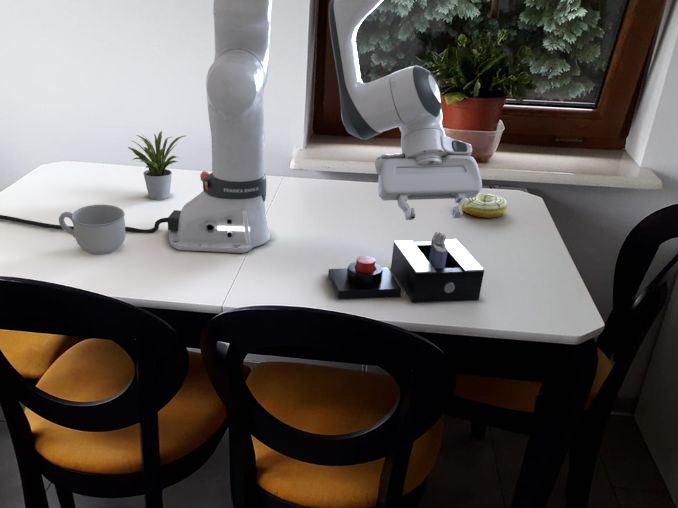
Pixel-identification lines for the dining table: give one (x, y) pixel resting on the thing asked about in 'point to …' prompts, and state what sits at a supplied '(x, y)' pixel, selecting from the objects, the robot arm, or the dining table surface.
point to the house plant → (157, 167)
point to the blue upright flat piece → (438, 251)
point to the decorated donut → (485, 205)
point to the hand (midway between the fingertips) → (434, 217)
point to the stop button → (365, 264)
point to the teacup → (96, 227)
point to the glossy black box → (436, 272)
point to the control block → (364, 283)
